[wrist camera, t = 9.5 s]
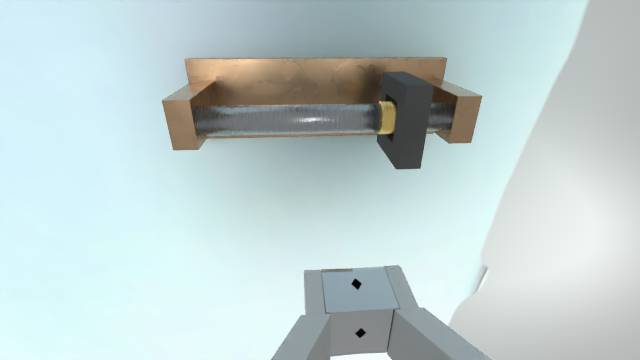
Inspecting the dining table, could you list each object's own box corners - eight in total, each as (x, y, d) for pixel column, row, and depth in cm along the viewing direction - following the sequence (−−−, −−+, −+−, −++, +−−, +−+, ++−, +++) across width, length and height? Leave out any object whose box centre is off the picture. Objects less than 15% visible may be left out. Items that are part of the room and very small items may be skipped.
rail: (201, 136, 34) (171, 173, 26) (187, 58, 30) (147, 72, 22) (430, 131, 36) (472, 164, 28) (443, 57, 32) (495, 70, 24)
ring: (376, 141, 31) (396, 169, 25) (383, 71, 28) (406, 85, 22) (396, 140, 31) (420, 168, 25) (404, 71, 28) (434, 84, 22)
